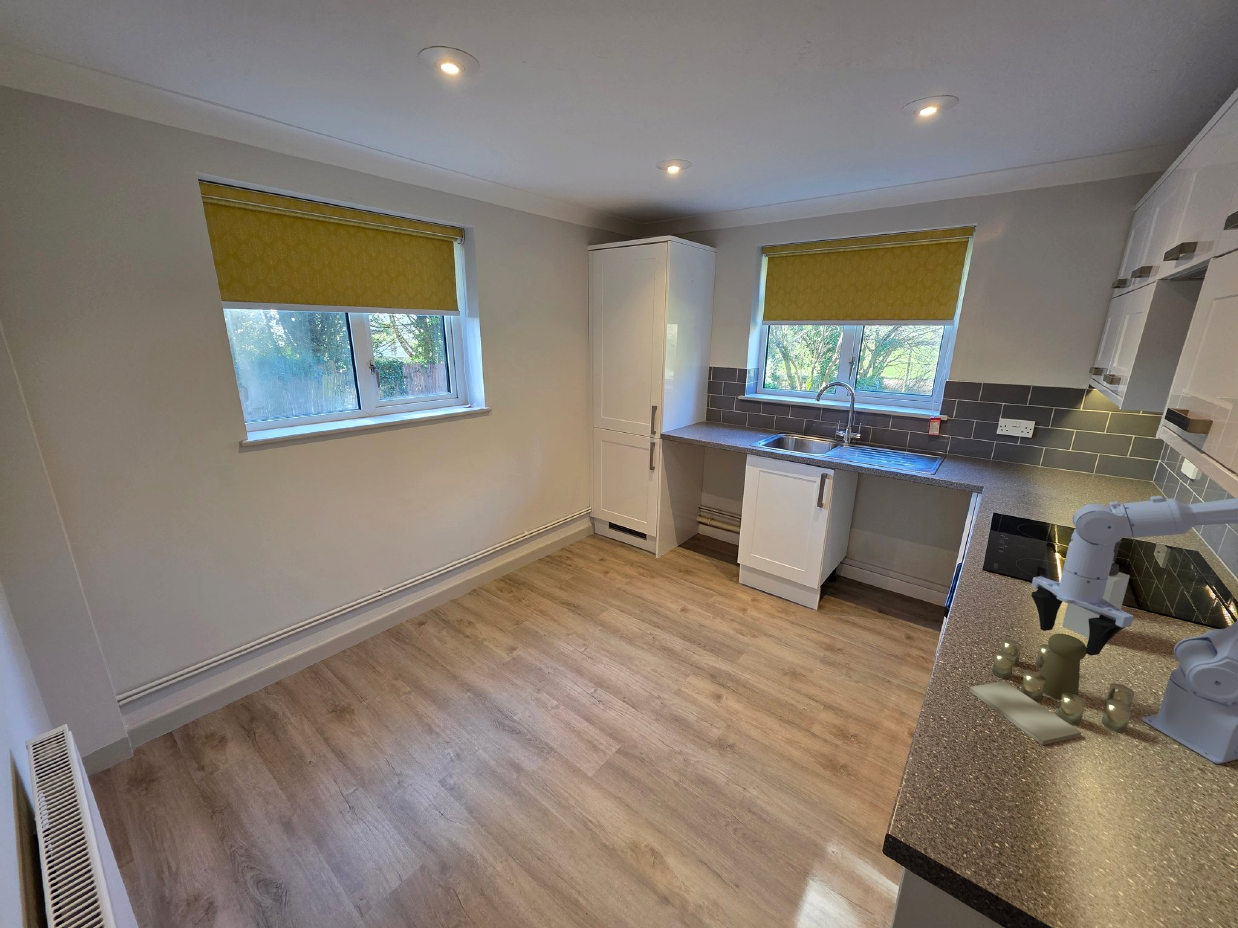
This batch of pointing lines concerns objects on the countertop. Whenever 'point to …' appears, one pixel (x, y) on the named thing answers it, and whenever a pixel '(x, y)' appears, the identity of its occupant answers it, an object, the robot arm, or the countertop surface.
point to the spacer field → (1070, 704)
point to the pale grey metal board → (1025, 712)
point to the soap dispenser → (1113, 594)
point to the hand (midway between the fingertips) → (1068, 641)
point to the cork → (1062, 665)
